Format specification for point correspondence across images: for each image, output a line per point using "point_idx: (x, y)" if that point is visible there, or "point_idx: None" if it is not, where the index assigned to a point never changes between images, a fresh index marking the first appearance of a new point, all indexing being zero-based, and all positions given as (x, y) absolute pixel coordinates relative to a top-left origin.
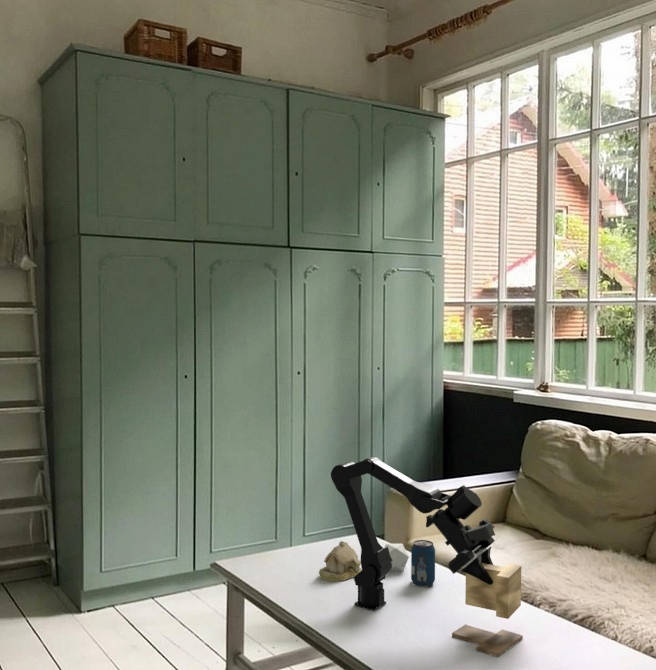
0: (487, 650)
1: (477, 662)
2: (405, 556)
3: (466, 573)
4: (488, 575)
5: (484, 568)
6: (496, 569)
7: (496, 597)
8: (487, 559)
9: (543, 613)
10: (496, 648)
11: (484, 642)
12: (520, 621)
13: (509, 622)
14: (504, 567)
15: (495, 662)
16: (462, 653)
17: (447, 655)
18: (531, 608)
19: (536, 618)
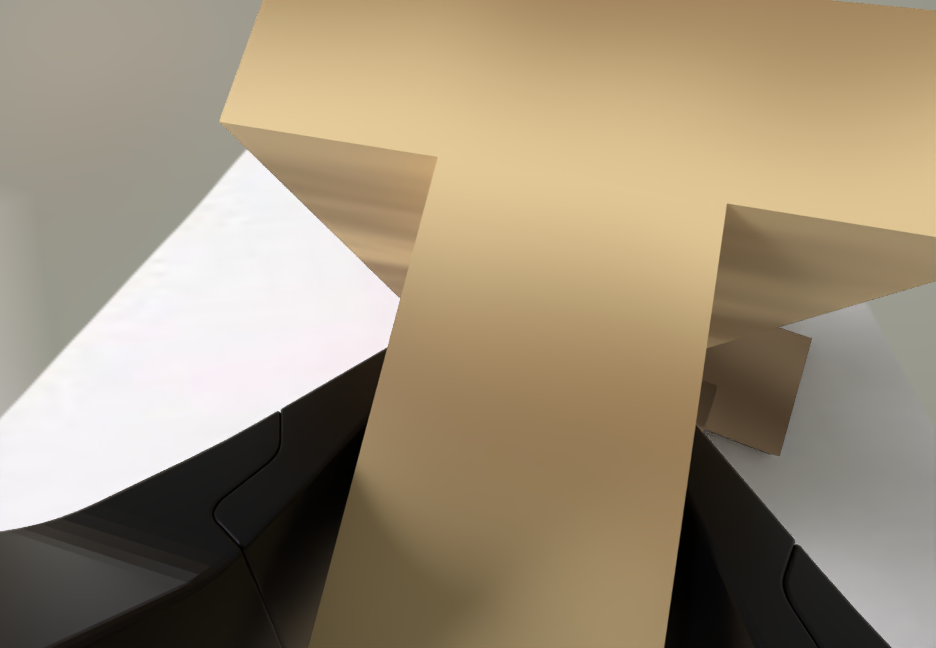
0: (794, 395)
1: (911, 433)
2: None
3: None
4: (701, 449)
5: (752, 572)
6: (640, 300)
7: (759, 330)
8: (252, 562)
9: (220, 194)
10: (750, 352)
11: (702, 421)
12: (337, 282)
13: (363, 330)
14: (459, 172)
15: (865, 346)
16: (840, 525)
17: (907, 607)
18: (172, 249)
19: (284, 217)
